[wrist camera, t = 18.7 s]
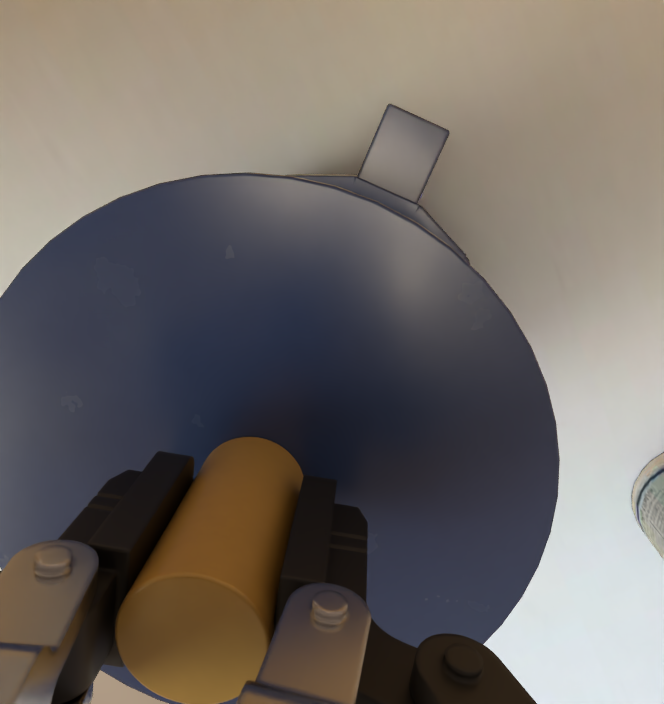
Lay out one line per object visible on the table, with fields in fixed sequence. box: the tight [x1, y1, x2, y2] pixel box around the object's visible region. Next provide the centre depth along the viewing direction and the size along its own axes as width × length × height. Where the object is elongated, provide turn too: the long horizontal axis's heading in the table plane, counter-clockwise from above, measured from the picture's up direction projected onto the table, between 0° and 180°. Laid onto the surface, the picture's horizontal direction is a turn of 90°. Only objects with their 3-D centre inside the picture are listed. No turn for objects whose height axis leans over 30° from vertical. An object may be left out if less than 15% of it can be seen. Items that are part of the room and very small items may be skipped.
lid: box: [0, 173, 560, 704], centre depth 12 cm, size 14×14×6 cm
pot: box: [285, 104, 470, 265], centre depth 28 cm, size 13×18×9 cm
